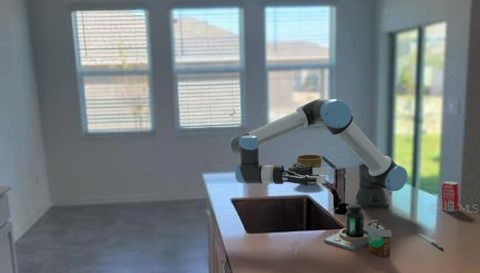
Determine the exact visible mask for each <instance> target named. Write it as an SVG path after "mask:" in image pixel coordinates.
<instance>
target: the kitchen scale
mask: <svg viewBox="0 0 480 273" xmlns="http://www.w3.org/2000/svg"><path fill="white" fill-rule="evenodd" d="M323 241H324V243H327V244H330V245H334V246H336V247H340V248H343V249H345V250H350V251H353V252H355V251H358V250H359V249H361V248H362V247H365V246H366V245H369V239H368V232H367V231H366V228H364V236H363V237H359V238H357V237H349V236H346V227H344V228H341V229H340V230H339V232H337V233H335V234H332V235H330V236H328V237H326V238H324V240H323Z"/></svg>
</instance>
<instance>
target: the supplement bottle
mask: <svg viewBox="0 0 480 273" xmlns="http://www.w3.org/2000/svg"><path fill="white" fill-rule="evenodd" d="M347 210H348V211H347V212H346V213H345V228H346V236H349V237H357V238H359V237H363V236H364V229H365V215H364V212H362V206H361V205H359V204H356V203H351V204H348V207H347Z"/></svg>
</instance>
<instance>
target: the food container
mask: <svg viewBox="0 0 480 273" xmlns="http://www.w3.org/2000/svg"><path fill="white" fill-rule="evenodd" d="M378 220H379V219H373V220H370V221H368V222H367V224H366V227H365V229H366V231H367V232H368V239H369V243H368V249H369V250H368V251H369V253H370V254H372V255H373V256H376V257H380V258H390V256H391V254H390V253H391V240H392V239H391V238H392V237H393V236H392V230H390V229H389V230H388V229H387V228H386V227H385V226H384V225H382V224H380V223H379V221H378Z"/></svg>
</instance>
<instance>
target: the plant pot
mask: <svg viewBox="0 0 480 273" xmlns="http://www.w3.org/2000/svg"><path fill="white" fill-rule="evenodd" d="M295 159H296V162H297V163H300V164H302V165H304V166H306V167H310V166H313V168H322V161H323V157H322V156H321V155H319V154H302V155H301V154H300V155H297V156H296V158H295ZM303 176H306V175H303ZM308 184H313V185H316V184H315V183H308Z"/></svg>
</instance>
